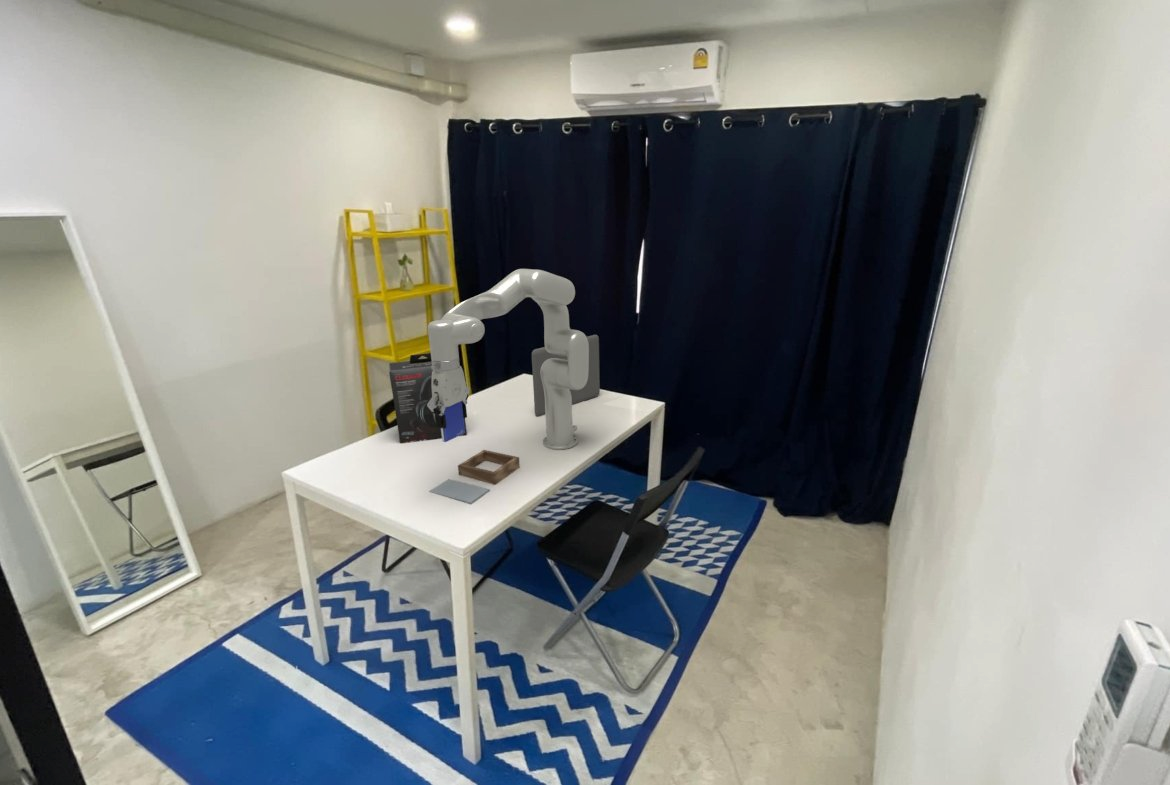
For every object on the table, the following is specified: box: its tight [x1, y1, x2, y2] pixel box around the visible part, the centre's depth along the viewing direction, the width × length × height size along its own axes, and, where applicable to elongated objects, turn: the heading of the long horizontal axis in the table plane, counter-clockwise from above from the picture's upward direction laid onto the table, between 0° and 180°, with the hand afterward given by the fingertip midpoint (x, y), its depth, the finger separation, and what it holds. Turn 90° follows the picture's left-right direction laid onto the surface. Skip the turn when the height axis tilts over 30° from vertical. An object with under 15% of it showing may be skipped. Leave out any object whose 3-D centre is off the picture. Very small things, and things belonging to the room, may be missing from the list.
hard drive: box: [438, 400, 465, 443], centre depth 161 cm, size 2×8×12 cm, turn 148°
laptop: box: [531, 334, 601, 417], centre depth 244 cm, size 38×29×29 cm
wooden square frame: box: [457, 449, 521, 486], centre depth 181 cm, size 13×14×4 cm
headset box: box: [388, 352, 468, 444], centre depth 206 cm, size 24×13×33 cm, turn 109°
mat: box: [428, 478, 491, 505], centre depth 169 cm, size 9×16×1 cm, turn 62°
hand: (452, 422), depth 162 cm, fingers closed on hard drive, 8 cm apart
